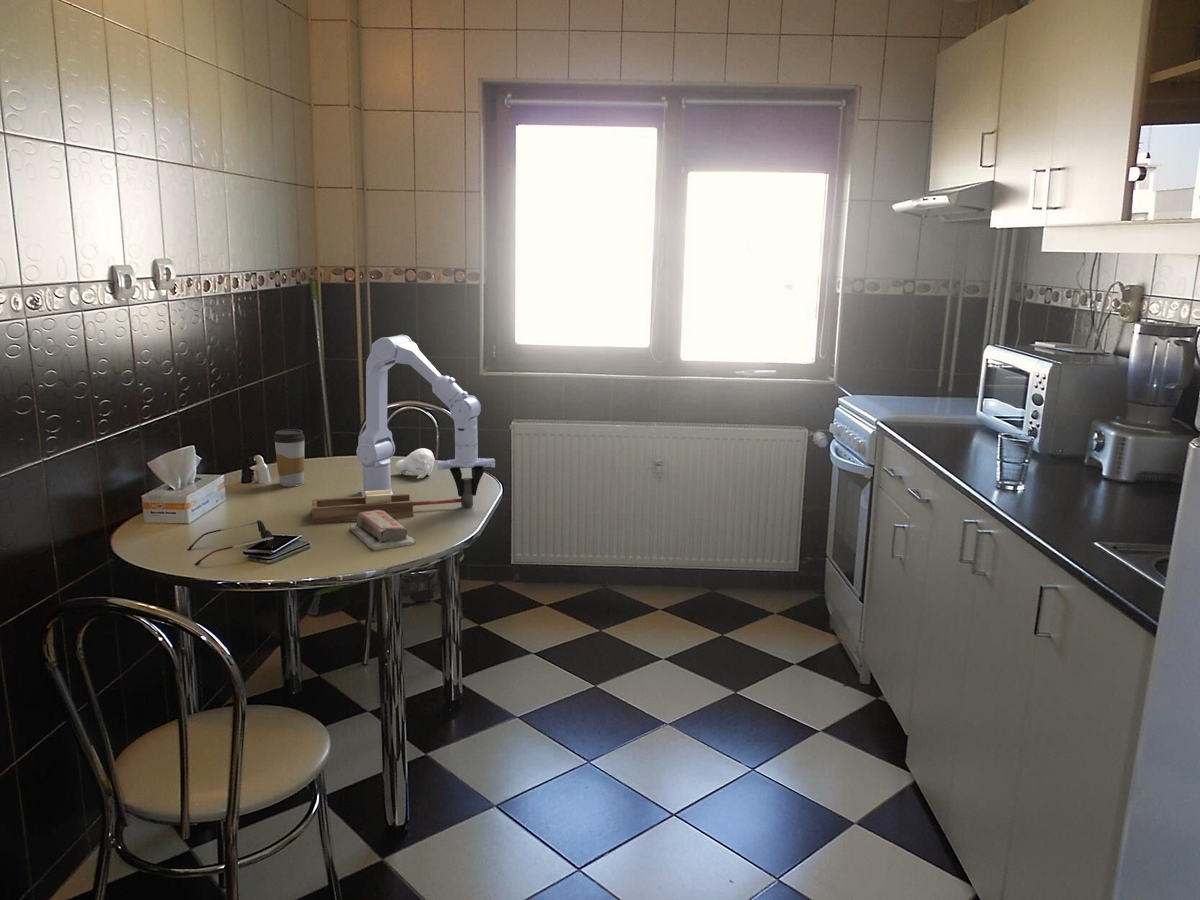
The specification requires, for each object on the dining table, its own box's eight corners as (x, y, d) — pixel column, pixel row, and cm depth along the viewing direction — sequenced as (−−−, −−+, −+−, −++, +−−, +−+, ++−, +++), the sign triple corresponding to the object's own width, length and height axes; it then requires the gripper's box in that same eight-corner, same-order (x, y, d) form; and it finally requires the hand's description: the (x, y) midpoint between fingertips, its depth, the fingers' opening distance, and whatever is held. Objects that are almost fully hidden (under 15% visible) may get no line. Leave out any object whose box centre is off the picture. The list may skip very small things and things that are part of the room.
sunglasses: (275, 556, 196) (273, 534, 194) (196, 573, 188) (193, 550, 186) (262, 538, 207) (259, 518, 206) (186, 554, 199) (183, 532, 198)
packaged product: (348, 511, 213) (389, 506, 218) (349, 531, 214) (389, 525, 219) (372, 532, 198) (415, 525, 203) (373, 553, 199) (416, 546, 204)
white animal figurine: (425, 451, 258) (388, 451, 262) (428, 479, 260) (391, 479, 263) (435, 446, 264) (399, 447, 268) (438, 474, 266) (402, 474, 269)
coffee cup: (313, 483, 254) (311, 431, 251) (289, 489, 247) (286, 436, 244) (294, 478, 259) (291, 427, 255) (269, 484, 252) (266, 432, 249)
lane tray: (312, 512, 227) (311, 498, 226) (408, 505, 234) (408, 492, 234) (313, 523, 218) (312, 509, 217) (413, 516, 225) (413, 503, 224)
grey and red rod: (365, 509, 228) (364, 482, 227) (471, 502, 237) (470, 476, 235) (367, 514, 224) (365, 487, 222) (474, 507, 232) (474, 481, 231)
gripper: (440, 448, 225) (441, 501, 227) (497, 445, 229) (497, 497, 232) (436, 442, 231) (437, 493, 234) (491, 440, 236) (492, 490, 238)
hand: (467, 495), depth 233 cm, fingers closed on grey and red rod, 3 cm apart
